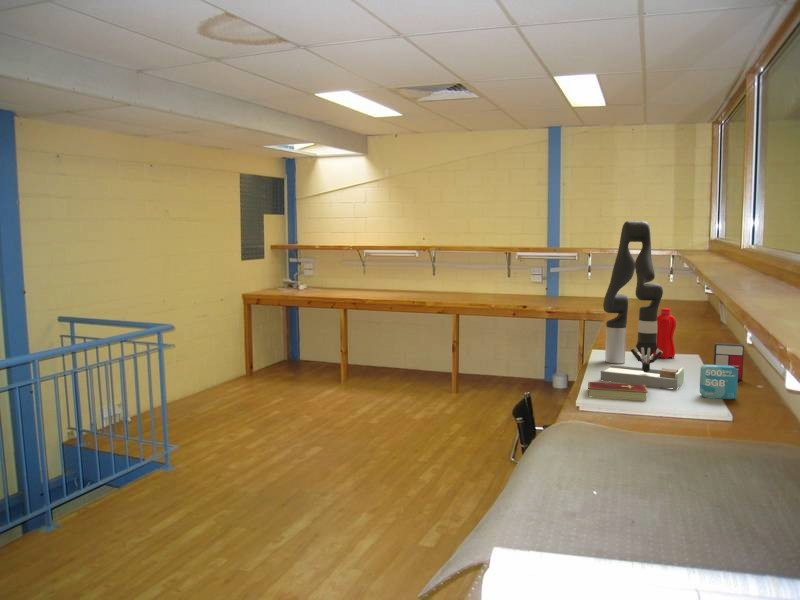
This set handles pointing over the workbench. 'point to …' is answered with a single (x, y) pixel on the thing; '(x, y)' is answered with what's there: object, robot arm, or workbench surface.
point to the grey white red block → (729, 356)
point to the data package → (718, 381)
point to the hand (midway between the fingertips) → (645, 371)
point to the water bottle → (665, 333)
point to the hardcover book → (617, 391)
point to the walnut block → (668, 373)
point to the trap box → (641, 377)
